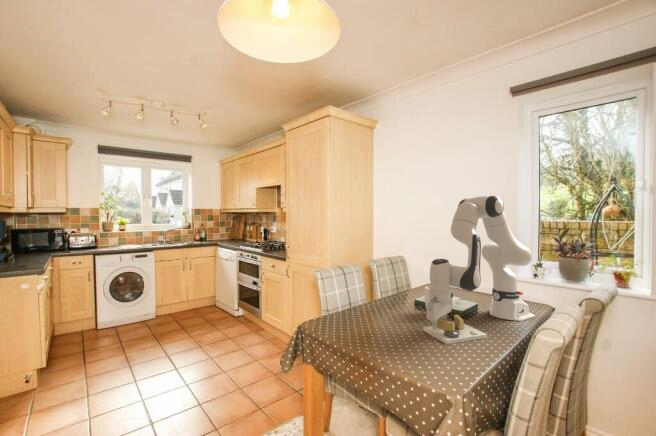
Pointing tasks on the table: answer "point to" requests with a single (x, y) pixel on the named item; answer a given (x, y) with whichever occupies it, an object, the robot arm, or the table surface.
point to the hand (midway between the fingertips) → (439, 325)
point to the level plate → (464, 335)
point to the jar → (427, 295)
